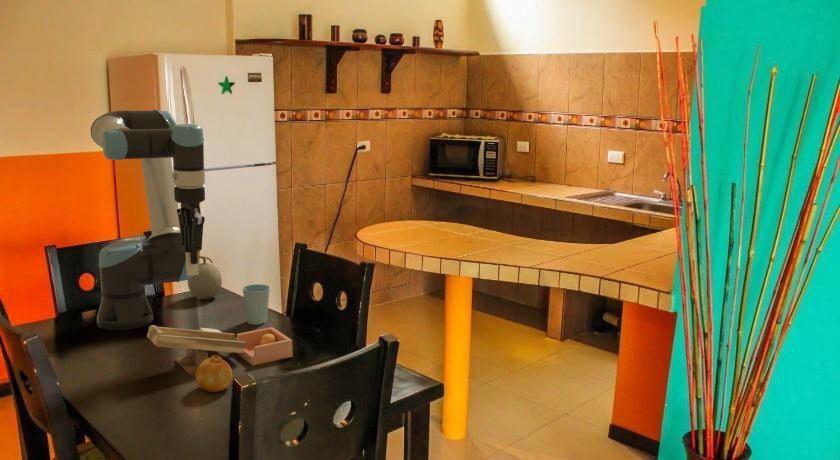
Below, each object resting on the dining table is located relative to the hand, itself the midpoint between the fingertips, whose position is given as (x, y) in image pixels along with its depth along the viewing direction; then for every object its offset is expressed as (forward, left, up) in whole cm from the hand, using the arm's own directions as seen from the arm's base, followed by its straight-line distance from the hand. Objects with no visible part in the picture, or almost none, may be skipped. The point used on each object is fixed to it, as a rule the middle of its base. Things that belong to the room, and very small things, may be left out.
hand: (192, 274), depth 194 cm
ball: (+14, +15, -17) cm, 26 cm away
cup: (-9, +22, -20) cm, 31 cm away
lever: (+9, -5, -14) cm, 18 cm away
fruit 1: (-40, +18, -20) cm, 48 cm away
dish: (+15, +12, -20) cm, 28 cm away
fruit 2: (+29, -6, -20) cm, 36 cm away
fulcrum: (+14, -4, -20) cm, 24 cm away
